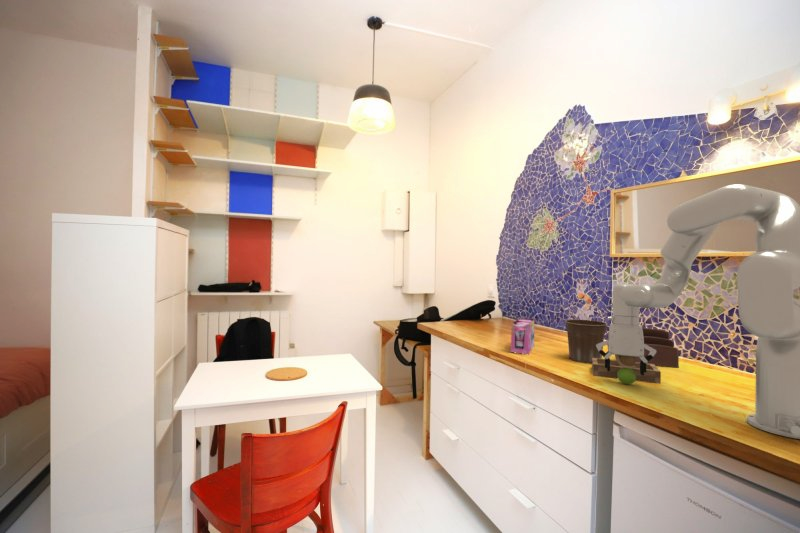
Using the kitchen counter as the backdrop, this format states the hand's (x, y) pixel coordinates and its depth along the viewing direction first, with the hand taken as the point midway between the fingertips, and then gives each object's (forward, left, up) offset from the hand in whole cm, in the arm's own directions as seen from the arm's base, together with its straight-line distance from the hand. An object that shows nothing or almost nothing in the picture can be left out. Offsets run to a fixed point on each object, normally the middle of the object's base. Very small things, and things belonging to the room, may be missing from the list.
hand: (624, 372), depth 123 cm
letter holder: (+39, -12, -4) cm, 41 cm away
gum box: (+40, +37, -4) cm, 55 cm away
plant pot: (+31, +11, -4) cm, 33 cm away
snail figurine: (0, 0, -4) cm, 4 cm away
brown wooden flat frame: (+12, -1, -4) cm, 13 cm away
